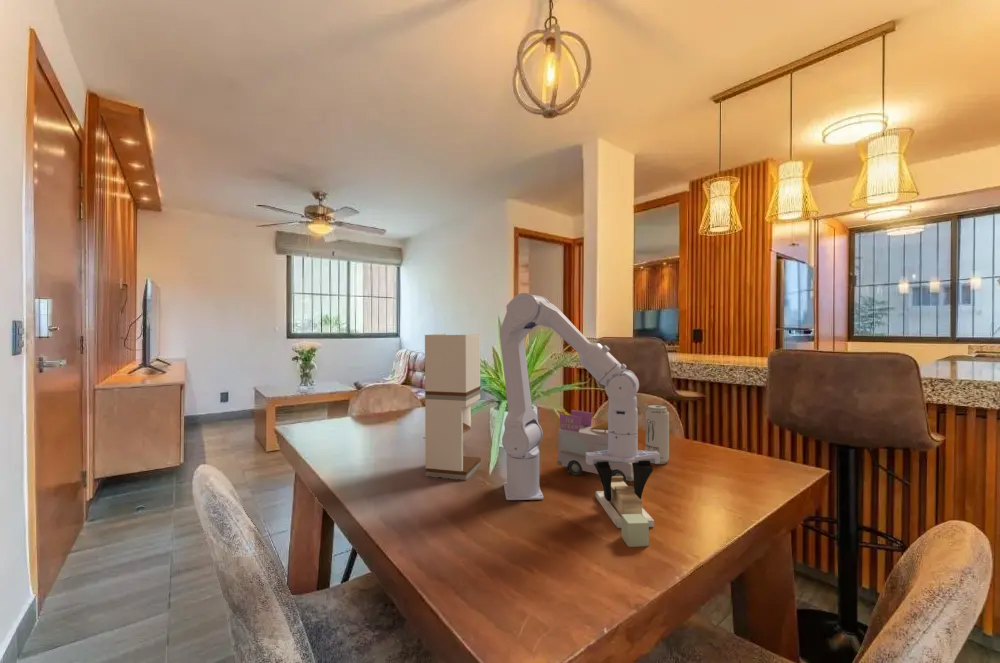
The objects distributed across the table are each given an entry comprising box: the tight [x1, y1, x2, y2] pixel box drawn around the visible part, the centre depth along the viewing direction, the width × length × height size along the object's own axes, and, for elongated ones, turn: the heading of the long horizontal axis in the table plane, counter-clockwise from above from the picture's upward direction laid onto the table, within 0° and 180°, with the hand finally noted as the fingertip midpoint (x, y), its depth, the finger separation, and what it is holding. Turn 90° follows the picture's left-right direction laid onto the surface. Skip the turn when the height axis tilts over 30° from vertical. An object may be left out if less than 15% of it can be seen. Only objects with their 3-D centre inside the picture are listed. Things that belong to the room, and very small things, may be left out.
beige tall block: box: [424, 333, 482, 481], centre depth 110 cm, size 11×11×35 cm
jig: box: [595, 490, 655, 529], centre depth 86 cm, size 14×7×1 cm, turn 3°
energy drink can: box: [644, 404, 670, 465], centre depth 117 cm, size 6×6×15 cm
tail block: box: [620, 514, 650, 548], centre depth 74 cm, size 4×4×4 cm
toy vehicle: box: [556, 409, 634, 484], centre depth 106 cm, size 9×20×15 cm, turn 53°
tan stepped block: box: [609, 476, 643, 517], centre depth 86 cm, size 11×4×5 cm, turn 3°
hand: (622, 498), depth 86 cm, fingers open, 5 cm apart
